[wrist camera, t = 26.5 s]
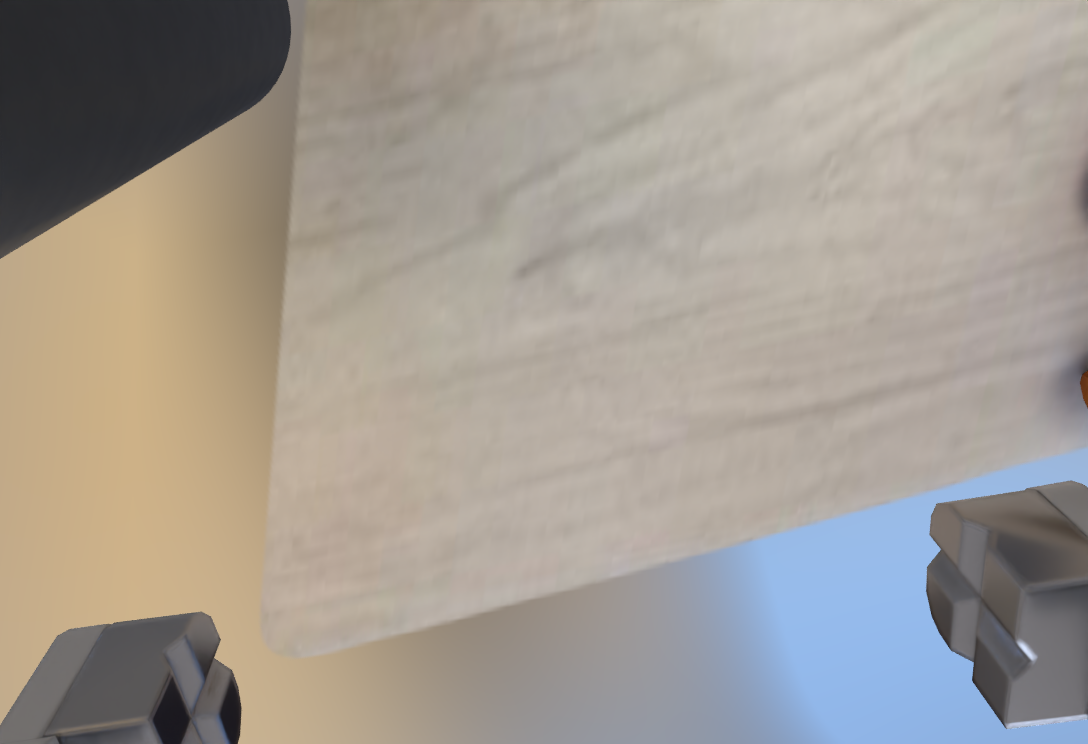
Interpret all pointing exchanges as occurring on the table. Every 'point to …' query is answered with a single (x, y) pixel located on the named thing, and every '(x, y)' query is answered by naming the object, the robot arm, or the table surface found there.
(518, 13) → the table surface
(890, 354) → the table surface
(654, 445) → the table surface
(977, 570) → the robot arm
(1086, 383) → the carrot
